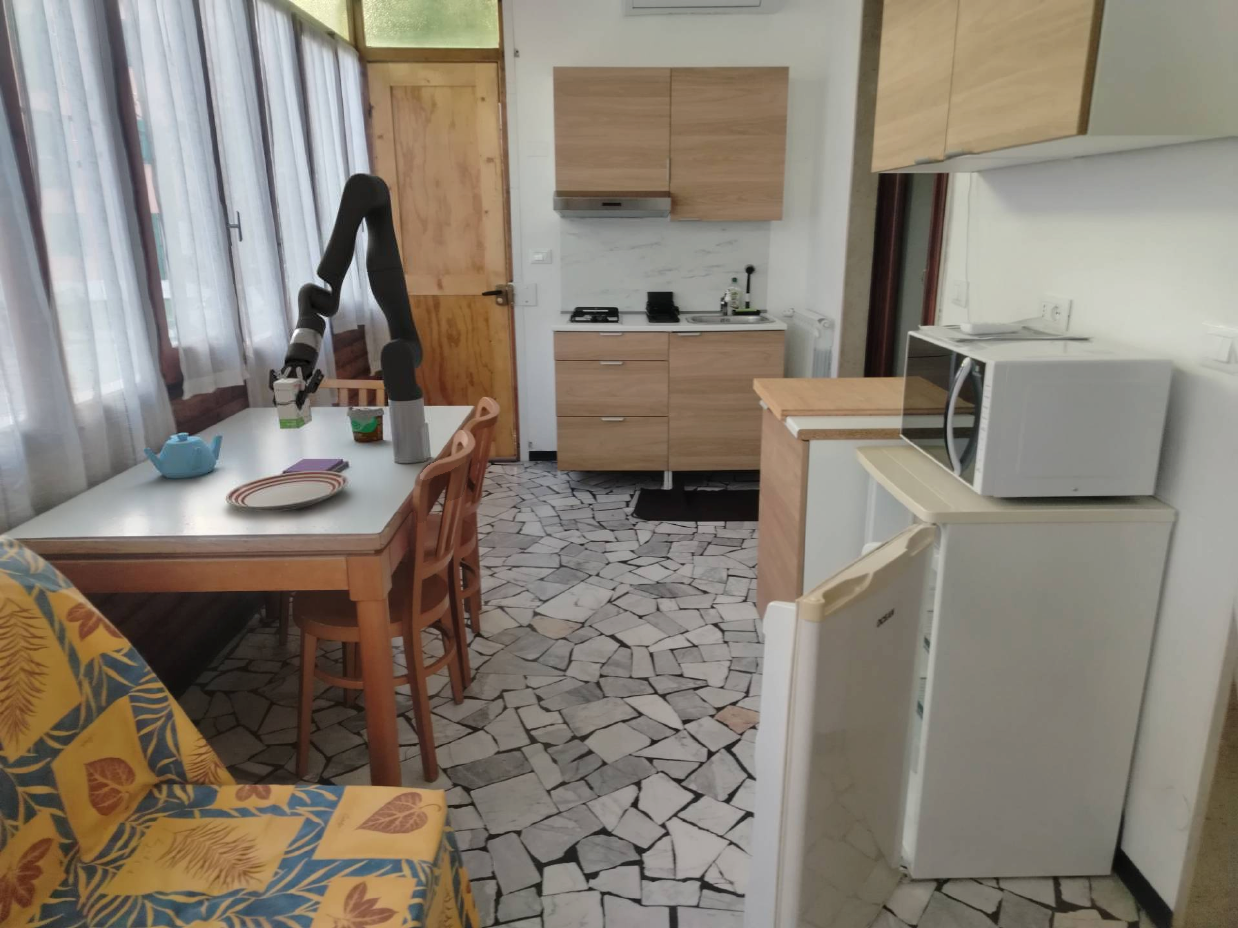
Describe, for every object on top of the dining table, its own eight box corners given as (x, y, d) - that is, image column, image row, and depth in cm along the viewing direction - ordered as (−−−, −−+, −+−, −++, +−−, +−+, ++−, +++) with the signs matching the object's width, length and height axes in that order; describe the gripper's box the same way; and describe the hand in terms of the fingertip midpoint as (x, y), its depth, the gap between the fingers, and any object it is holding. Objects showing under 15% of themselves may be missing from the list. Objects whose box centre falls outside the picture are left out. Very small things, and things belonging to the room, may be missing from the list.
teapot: (230, 464, 231) (224, 426, 228) (204, 479, 216) (198, 439, 213) (176, 465, 231) (169, 427, 228) (146, 481, 216) (138, 441, 214)
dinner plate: (218, 524, 183) (215, 510, 182) (236, 489, 208) (234, 476, 207) (348, 510, 190) (347, 496, 189) (351, 477, 215) (349, 465, 214)
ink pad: (348, 465, 226) (347, 457, 225) (326, 480, 213) (325, 472, 212) (302, 465, 227) (301, 457, 227) (278, 480, 214) (276, 472, 213)
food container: (340, 441, 252) (337, 409, 249) (354, 437, 258) (350, 405, 255) (374, 444, 248) (370, 411, 245) (387, 439, 253) (383, 407, 250)
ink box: (298, 429, 206) (291, 382, 203) (279, 429, 207) (272, 382, 203) (313, 420, 214) (306, 375, 211) (294, 421, 215) (288, 375, 211)
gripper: (270, 341, 212) (252, 397, 203) (324, 340, 210) (308, 397, 202) (284, 359, 218) (267, 414, 210) (336, 358, 216) (321, 414, 208)
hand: (287, 405), depth 206 cm, fingers closed on ink box, 5 cm apart
